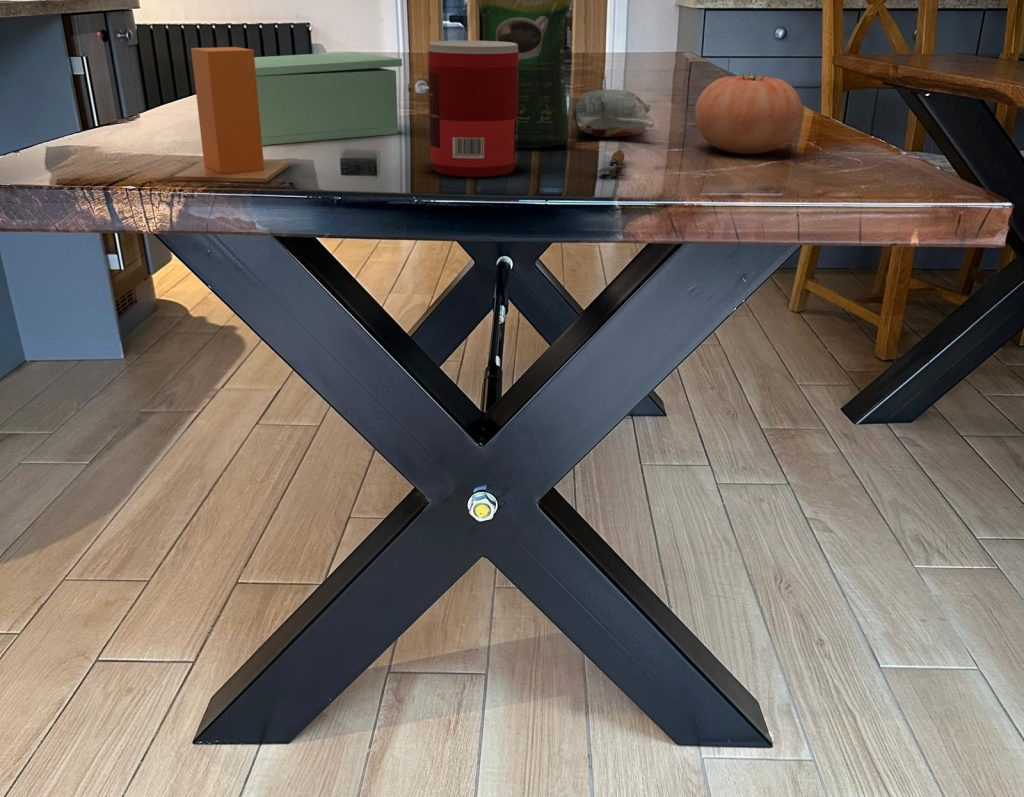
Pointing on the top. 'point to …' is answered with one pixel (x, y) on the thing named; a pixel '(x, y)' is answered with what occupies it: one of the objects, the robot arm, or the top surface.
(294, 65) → the lunchbox lid
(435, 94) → the canned food
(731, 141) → the orange pumpkin
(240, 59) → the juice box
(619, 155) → the can opener
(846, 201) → the top surface
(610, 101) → the packaged food
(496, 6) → the green coffee bag
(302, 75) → the box
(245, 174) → the coaster
